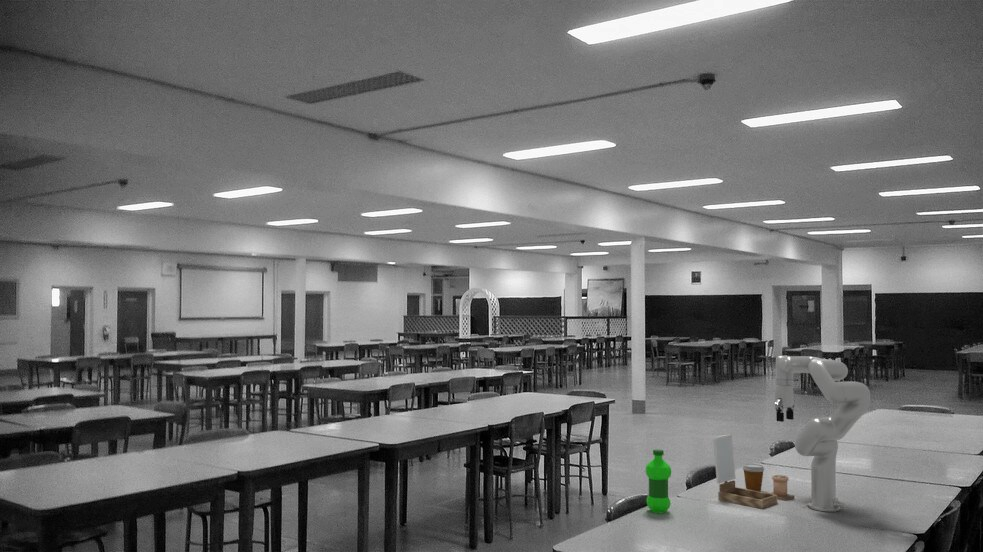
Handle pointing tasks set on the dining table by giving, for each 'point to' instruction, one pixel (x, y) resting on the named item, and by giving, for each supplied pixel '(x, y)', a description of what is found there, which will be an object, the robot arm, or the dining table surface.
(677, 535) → the dining table surface
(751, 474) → the disposable coffee cup
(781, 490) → the pot
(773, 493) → the board
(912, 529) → the dining table surface
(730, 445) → the lid
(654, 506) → the plastic bottle
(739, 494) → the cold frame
